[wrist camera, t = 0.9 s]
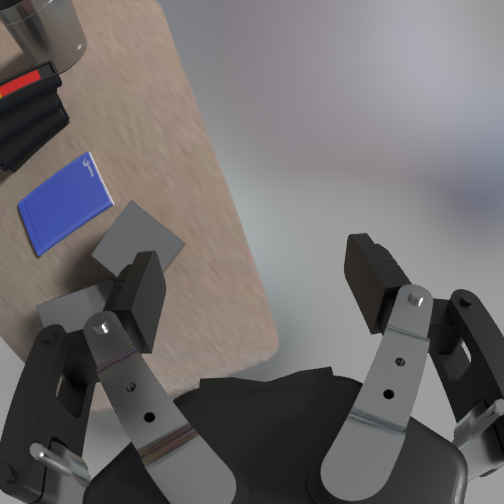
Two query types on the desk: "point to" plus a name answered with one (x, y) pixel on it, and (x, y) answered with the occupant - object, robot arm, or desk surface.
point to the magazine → (29, 113)
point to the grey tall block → (136, 240)
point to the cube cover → (75, 306)
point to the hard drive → (64, 203)
